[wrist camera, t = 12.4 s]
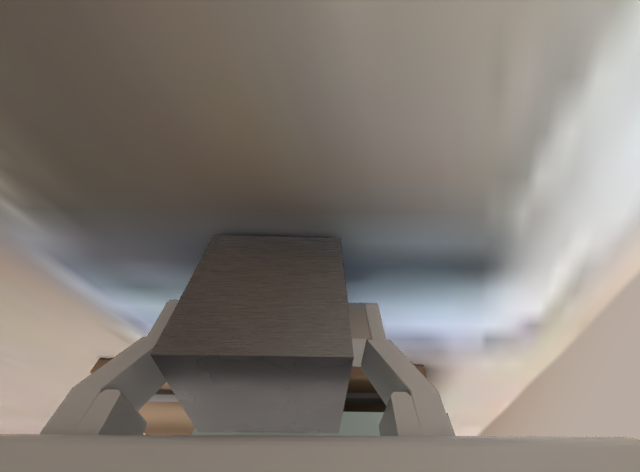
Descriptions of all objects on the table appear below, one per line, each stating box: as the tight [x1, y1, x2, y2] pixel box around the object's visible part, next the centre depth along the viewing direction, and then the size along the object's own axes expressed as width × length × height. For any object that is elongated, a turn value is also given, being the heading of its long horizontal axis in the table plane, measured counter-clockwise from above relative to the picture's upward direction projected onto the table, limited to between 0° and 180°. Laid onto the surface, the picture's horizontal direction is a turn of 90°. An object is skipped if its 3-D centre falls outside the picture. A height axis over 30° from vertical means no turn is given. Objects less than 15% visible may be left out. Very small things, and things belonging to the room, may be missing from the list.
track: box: [90, 359, 427, 435], centre depth 22 cm, size 20×20×1 cm
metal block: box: [150, 235, 354, 433], centre depth 10 cm, size 5×5×5 cm
